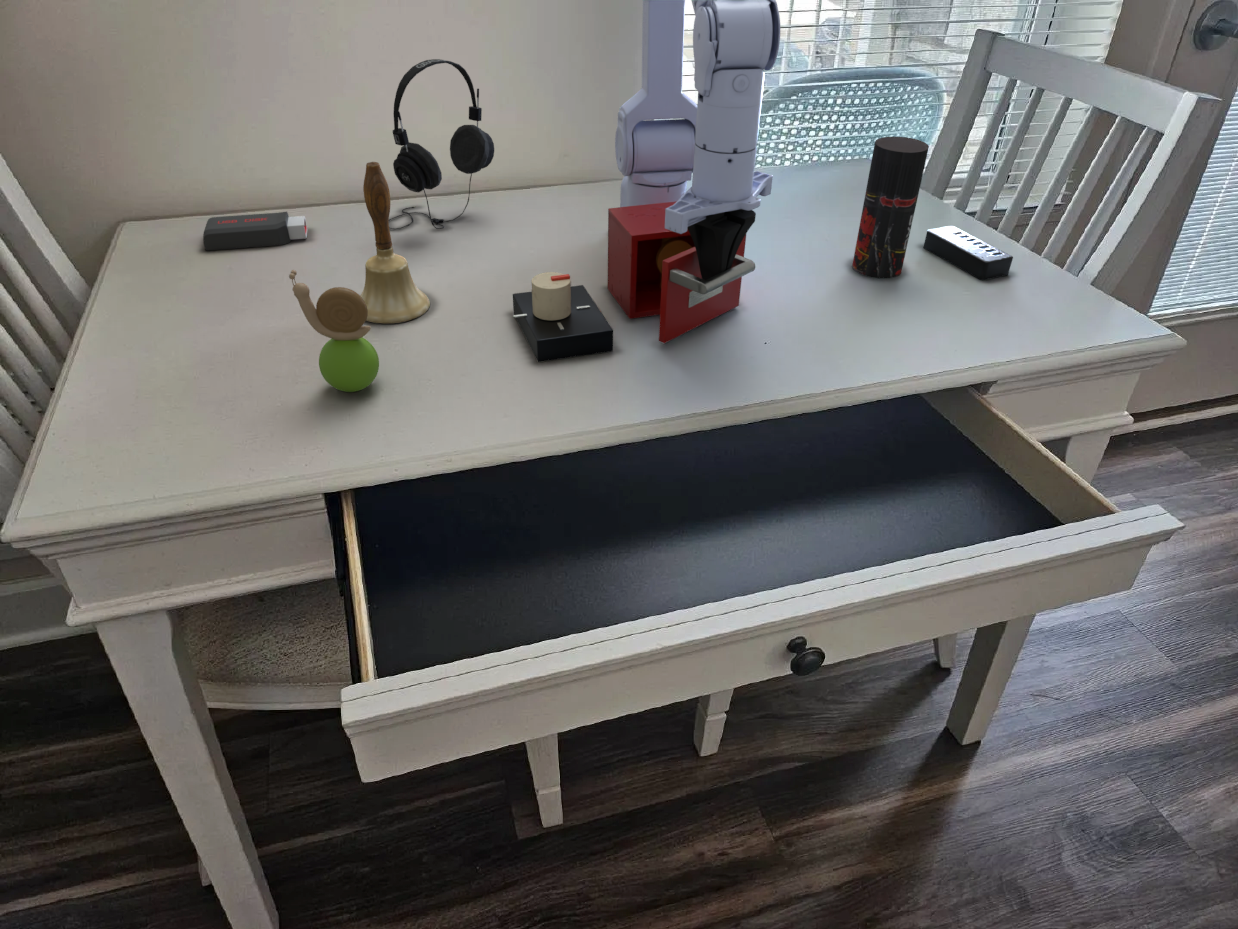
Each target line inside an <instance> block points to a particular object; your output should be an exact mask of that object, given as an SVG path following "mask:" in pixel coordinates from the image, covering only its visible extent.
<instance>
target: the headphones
mask: <svg viewBox="0 0 1238 929" xmlns="http://www.w3.org/2000/svg"><path fill="white" fill-rule="evenodd" d="M439 64H440V65H441V64H448V65H451V66H452V67H454V68H455V69H456V70H457V71H458V72H459V73H460V75H461V76H462V77H463V79H464V81H465V82H466V84H467V86H468V90H469V92H470V98H471V103H472V105H471V106H468V120H470V121H474V122H476V125H475V124H463V125H460V126H459V127H457V129H456V130H455V131H454V132H453V135H452V137H451V139H450V142H449V156H450V160H451V161H452V165H453V166H454V167H455V168H456V169H457V170H458V171H459V172H461V173H463V174H467V175H470V176H469V184H468V185H469V187H468V198H467V203H466V204H465V207H464V208H463V211H462V213H460V214H459V215H458V216H457V217H455V218H454V219H449V220H444V219H443V218H435V217H434V218H432V217H431V216H432V215H431V210H430V204H429V201H428V196H427V193H426V190H433V189H435V188H436V187H439V186H440V184H441V182H442V180H443V176H442V175H443V174H442V170H441V168H440V166H439V163H438V161H437V160H436V157H435V156H434V155H433V154H432V152H430V151H429V150H428V149H426V148H425V147H423V146H422V145H421V144H419V143H416V142H411V141H409V136H408V133H407V129H405V128H404V125H403V122H402V116H401V112H400V106H401V102H402V98H403V95H404V94H405V91H406V89H407V86H408V85H409V84H410V83H411V81H412V80H413V79H414V78H415V77H416V76H417V75H418V74H419V73H421V72H423V71H424V70H426V69H427V68H429V67H432V66H435V65H439ZM475 92H476V93H475ZM479 102H480V88H476V91H475V89H474V84H473V81H472V79H471V77H470V75H469V74H468V72H467V70H466V69H465V68H464V67H463V66H462V65H461V64H459V63H456V62H453V61H451V60H445V59H440V58H433V59H432V58H431V59H426V60H423V61H421V62H418V63H416V64H415V65H413V66H412V67H410V69H408V70H407V72H405V74H404V75H403V76H402V78H401V79H400V81H399V82H398V86H397V88H396V92H395V97H394V101H393V128H394V129H392V135H393V136H392V137H393V139H394V143H395V145H397V146H401V147H400V150H399V153H397V156H396V158H395V159H394V160H393V162H392V166H393V171H394V175H395V177H396V178H397V180H398V181H399V183H400V184H401V185H402V186H403V187H405V188H406V189H407V190H408V191H410V192H414V193H421V192H423V194H424V196H425V199H426V204H427V209H428V214H427V213H423V212H419V214H422V215H423V216H427V218H428V219H429V220H430V222H431V225H432V226H433V227H434V228H435V230H442V229H444V228H445V226H444V225H443V224H442V223H444V222H446V223H449V222H452V221H455V220H457V219H459V218H461V216H462V215H464V212H465V211H466V209H467V207H468V205H469V201H470V196H471V195H470V193H471V183H472V182H471V181H472V175H473V174H476V173H478V172H480V171H481V170H482V169H485V168H488V166H490V164H491V163H492V161H493V159H494V157H495V156H494V155H495V143H494V141H493V139H492V137H491V135H490V134H489V133H487V132H486V131H484V130H482V128H480V127H479V122H482V111H483V108H482V107H479V106H480V105H479V104H480V103H479ZM399 124H400V127H399ZM415 208H416V206H411V207H405V208H403V209H401V213H403V214H399V215H397V216H394V217H392V218H389V222H390V221H391V220H394V219H397V218H399V217H403V216H404V215H408V216H410V218H411V222H410V223H408V224H406V225H404V226H401V227H397V228H395V230H401V229H403V228H406V227H408V226H410V225H411V224H412V223H414V218H413V216H412V215H411V214H412V212H407V211H405V210H409V209H415ZM413 214H418V212H416V211H415V212H413ZM434 223H435V224H434ZM435 225H437V226H438V225H439V226H441V227H436V226H435ZM390 229H391V230H394V227H393V228H392V227H389V230H390Z"/></svg>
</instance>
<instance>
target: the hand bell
mask: <svg viewBox="0 0 1238 929" xmlns="http://www.w3.org/2000/svg"><path fill="white" fill-rule="evenodd" d="M364 173H365V174H364V180H363V184H362V185H363V188H362V190H363V197H364V202H365V206H366V209H367V212H368V215H369V216H370V219H371V221H372V224H373V229H374V240H375V248H376V254H375V255H373V256H371V257H369V258H368V259H367V260H366V262H365V265H364V266H365V268H364V269H365V278H364V279H365V280H364V287H363V290H362V292H361V294H359V295H360V296H361V297H362V298H363V300H364V301H365V303H366V305H367V310H368V316H367V320H366V321H365V322H368V323H369V322H370V323H374V324H382V325H383V324H387V325H388V324H390V325H391V324H400V323H401V324H402V323H405V322H409V321H413V320H415V319H417V318H419V317H421V316H423V315H425V313H427V311H429V309H430V306H431V301H430V299H429V297H428V296H427V295H426V294H425V293H424V292H423V291H422V290H420V289H419V287H418V286H417V284H416V283H415V282H414V280H413V277H412V274H411V271H410V268H409V262H408V260H407V259H406V258H405V257H404V256H402V255H400V254H397V253H395V252H394V248H393V241H392V236H391V230H390V221H389V219H390V213H391V193H390V188H389V184H388V181H387V178H386V177H385V175H384V172H383V171H382V167H381V166H380V163H379V162H377V161H369V162H366V164H365V172H364Z"/></svg>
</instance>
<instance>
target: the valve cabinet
mask: <svg viewBox="0 0 1238 929" xmlns="http://www.w3.org/2000/svg"><path fill="white" fill-rule="evenodd" d="M676 202H677V201H676ZM676 202H666V203H657V204H647V205H637V206H628V207H620V206H619V207H611V208H607V209H608V210H607V217H608V218H607V222H608V223H607V290H608V292H609V293H610V294H611V296H612V297H613V298H614V300H615V301H616V302H617V303H618V306H620V308H621V310H623V312H624V313H625V315H626V316H627V318H628V319H630V320H633V319H639V318H647V317H655V316H660V305H661V284H662V264H663V260H665V259H667V258H670V257H672V256H674V255H677V254H679V253H681V252H684V251H686V250H688V249H691V248H693V247H695V245H694V242H693V240H692V237H691V235H690V233H689V231H688V229H687V232H685V233H683V234H679V233H676V232H673V231H670V230H668V229H665V210H666V208H668V207H670V206H672V205H674V204H675V203H676Z"/></svg>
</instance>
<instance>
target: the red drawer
mask: <svg viewBox="0 0 1238 929" xmlns="http://www.w3.org/2000/svg"><path fill="white" fill-rule="evenodd" d="M746 241H747V234H746V235H745V236H744V238H743V240H742V242H741V244H740V246H739V248H738V250H737V253H736V255H735V258H734V261H733V264H732V266H731V268H730V269H728V270H726V271H724V272H722V273H720V274H718V275H715V276H713V277H711V278H709V279H707V280H704V279H702V277H701V272H700V266H699V261H698V256H697V252H696V248H695V247H693V248H691V249H688V250H686V251H684V252H681V253H679V254H677V255H674V256H672V257H670V258H667V259H665V260H663V264H662V284H661V305H660V315H659V326H658V342H660V343H662V344H666V343H668V342H670V341H673V340H674V339H676V338H678V337H680V336H682V335H684V334H686V333H688V332H689V331H692V330H693V329H696V328H699V327H700V326H701V325H704V324H705V323H708V322H709V321H711V320H713V319H715V318H717V317H719V316H721V315H724V314H725V313H727V312H729V311H731V310H734V309H735V308H737V307H738V306H739V305H740V297H741V287H742V280H743V279H742V277H744V276H746V275H748V274H750V273H752V272H754V271H755V270H756V263H755V262H754V260H753V259H750V258H747V257H745V250H746V243H747V242H746ZM739 307H740V306H739Z"/></svg>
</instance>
